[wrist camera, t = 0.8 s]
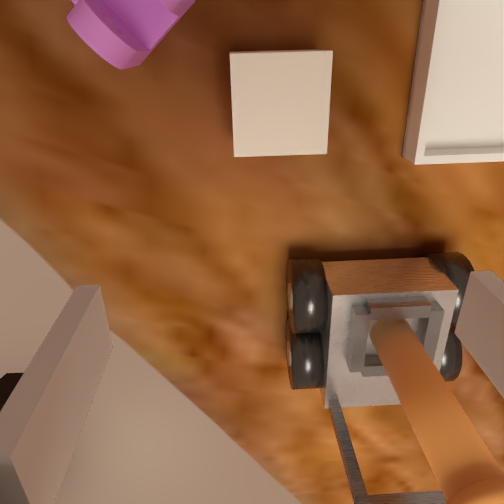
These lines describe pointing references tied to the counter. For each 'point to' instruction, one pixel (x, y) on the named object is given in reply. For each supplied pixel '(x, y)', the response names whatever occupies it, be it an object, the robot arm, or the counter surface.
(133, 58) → the bracket
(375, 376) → the trolley
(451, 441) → the pin
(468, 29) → the tray
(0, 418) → the robot arm
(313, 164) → the counter surface
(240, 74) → the off-white matte cube
